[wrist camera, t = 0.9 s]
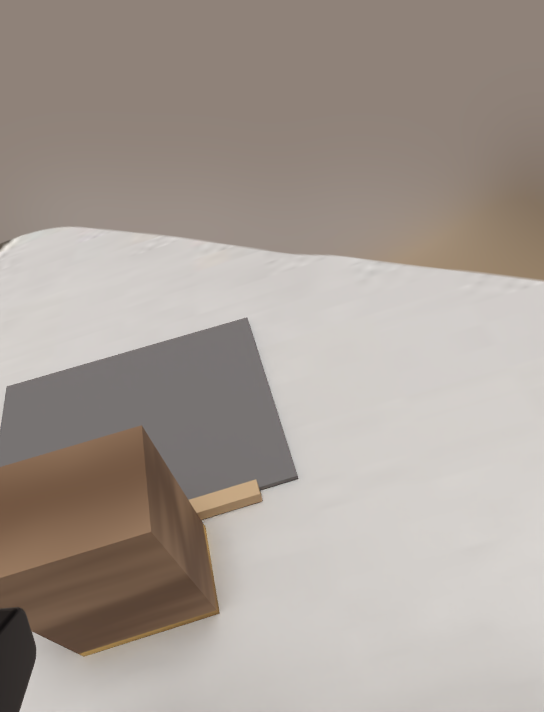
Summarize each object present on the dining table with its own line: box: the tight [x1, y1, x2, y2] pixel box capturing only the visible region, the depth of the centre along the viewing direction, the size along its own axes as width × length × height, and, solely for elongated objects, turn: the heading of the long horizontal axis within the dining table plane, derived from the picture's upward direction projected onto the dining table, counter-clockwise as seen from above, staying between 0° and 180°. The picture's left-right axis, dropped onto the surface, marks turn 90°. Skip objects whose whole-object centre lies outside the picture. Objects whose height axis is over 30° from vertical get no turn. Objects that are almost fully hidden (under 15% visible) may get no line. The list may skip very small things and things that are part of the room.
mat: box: [0, 318, 298, 520], centre depth 28 cm, size 13×16×1 cm
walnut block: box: [0, 425, 219, 656], centre depth 20 cm, size 4×6×9 cm, turn 104°
